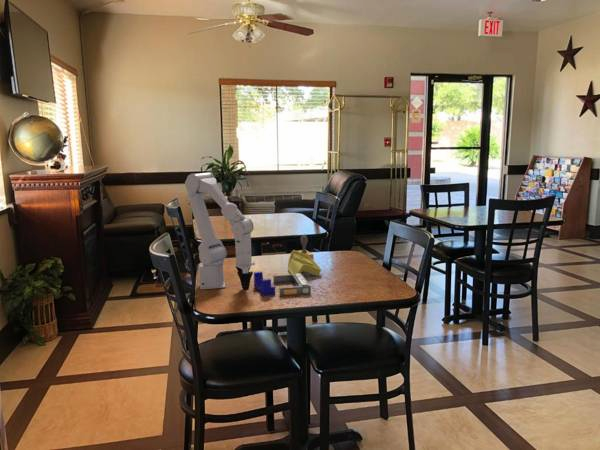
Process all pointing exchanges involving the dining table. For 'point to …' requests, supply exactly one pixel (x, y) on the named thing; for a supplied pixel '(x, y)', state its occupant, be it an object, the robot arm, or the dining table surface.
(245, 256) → the robot arm
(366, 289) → the dining table surface
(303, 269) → the plastic component
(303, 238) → the rubber stamp
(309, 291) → the rack
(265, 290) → the blue arched block
